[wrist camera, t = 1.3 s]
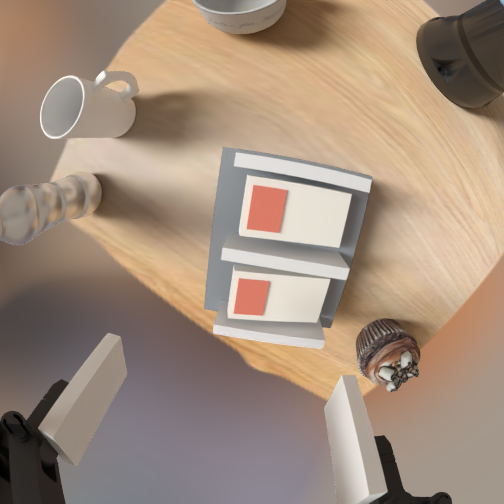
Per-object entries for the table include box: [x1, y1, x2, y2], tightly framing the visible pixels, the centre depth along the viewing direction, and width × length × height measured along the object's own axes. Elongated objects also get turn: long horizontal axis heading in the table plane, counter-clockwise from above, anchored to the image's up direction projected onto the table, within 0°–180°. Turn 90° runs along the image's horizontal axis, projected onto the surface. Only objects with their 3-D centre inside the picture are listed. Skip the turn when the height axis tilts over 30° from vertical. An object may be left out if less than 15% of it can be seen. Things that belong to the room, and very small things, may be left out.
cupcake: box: [356, 318, 420, 392], centre depth 34 cm, size 10×10×10 cm
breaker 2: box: [227, 265, 330, 323], centre depth 28 cm, size 10×6×2 cm, turn 81°
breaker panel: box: [204, 147, 372, 349], centre depth 29 cm, size 16×19×10 cm
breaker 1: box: [239, 174, 352, 248], centre depth 25 cm, size 10×6×2 cm, turn 81°
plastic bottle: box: [0, 172, 102, 245], centre depth 24 cm, size 6×7×20 cm
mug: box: [40, 71, 139, 139], centre depth 24 cm, size 10×7×12 cm, turn 117°
